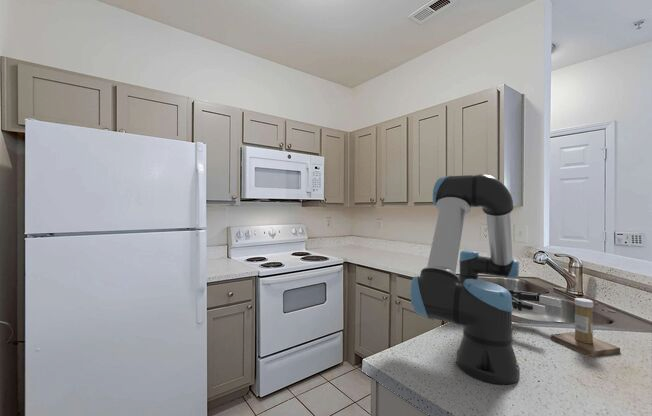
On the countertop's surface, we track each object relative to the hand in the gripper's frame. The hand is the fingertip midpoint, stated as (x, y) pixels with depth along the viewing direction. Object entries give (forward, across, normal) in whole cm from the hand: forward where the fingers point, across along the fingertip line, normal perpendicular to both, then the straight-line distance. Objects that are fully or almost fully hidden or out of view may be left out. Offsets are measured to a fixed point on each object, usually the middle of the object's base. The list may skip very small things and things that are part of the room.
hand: (553, 307), depth 99 cm
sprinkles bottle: (+8, 0, -9) cm, 12 cm away
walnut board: (+8, 0, -10) cm, 13 cm away
